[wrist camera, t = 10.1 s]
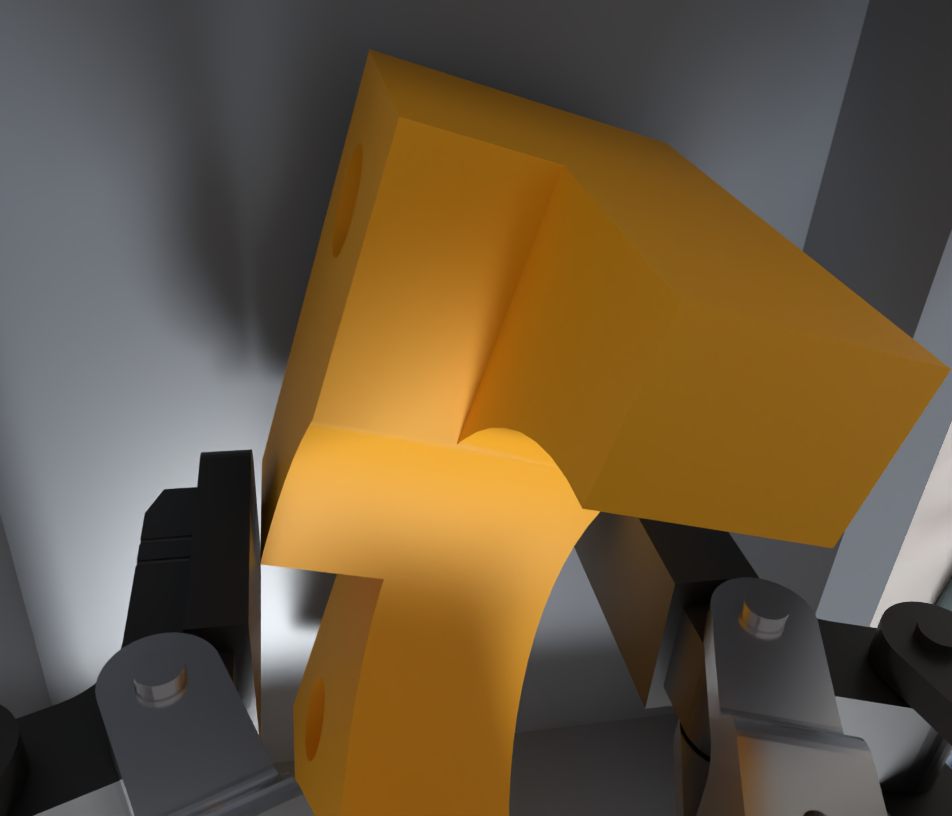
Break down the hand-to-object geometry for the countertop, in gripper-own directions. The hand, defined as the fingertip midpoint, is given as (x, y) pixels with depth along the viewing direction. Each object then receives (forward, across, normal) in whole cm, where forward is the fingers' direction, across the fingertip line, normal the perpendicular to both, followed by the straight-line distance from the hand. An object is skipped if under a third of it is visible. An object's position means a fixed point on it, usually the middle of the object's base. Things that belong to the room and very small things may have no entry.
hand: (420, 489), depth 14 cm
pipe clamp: (+1, 0, 0) cm, 1 cm away
